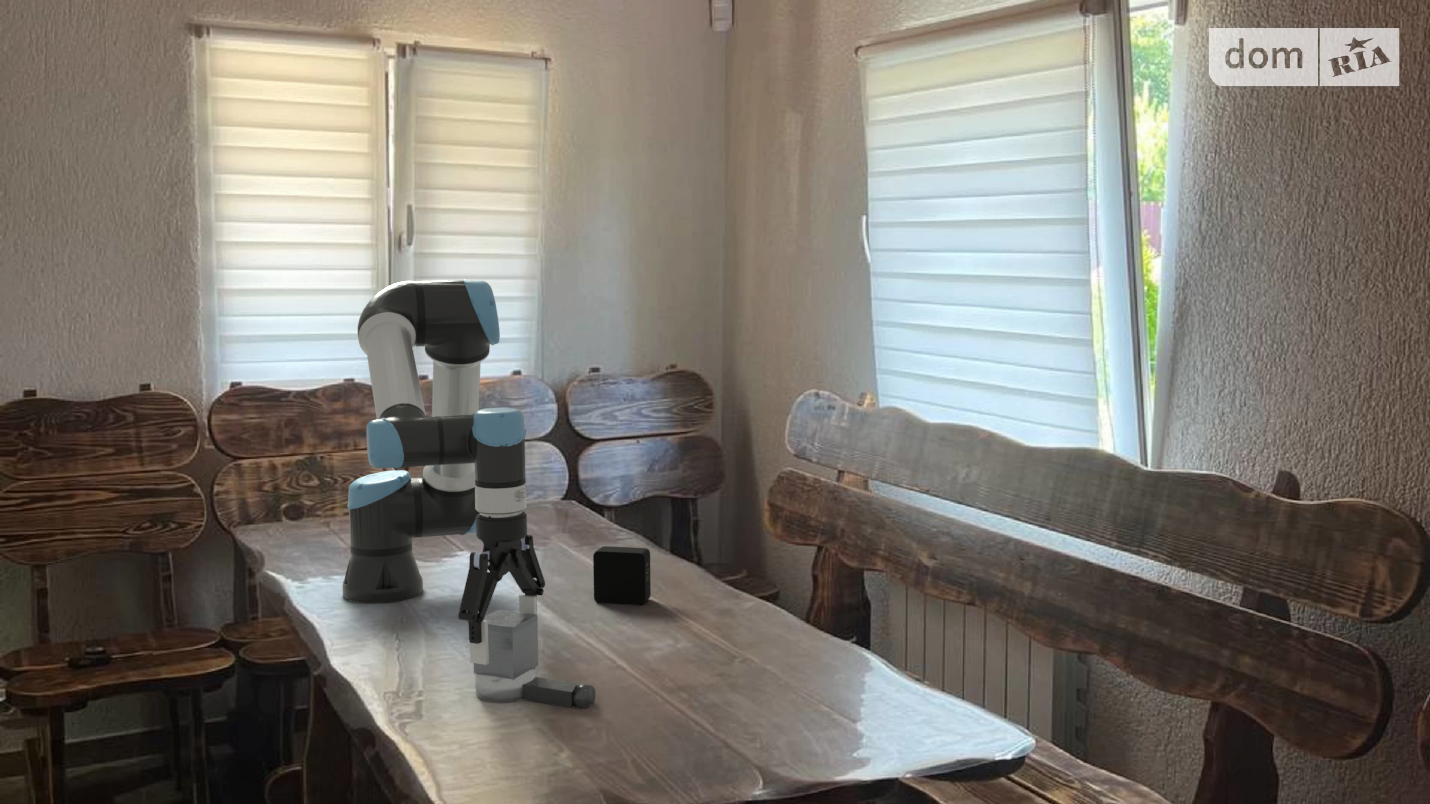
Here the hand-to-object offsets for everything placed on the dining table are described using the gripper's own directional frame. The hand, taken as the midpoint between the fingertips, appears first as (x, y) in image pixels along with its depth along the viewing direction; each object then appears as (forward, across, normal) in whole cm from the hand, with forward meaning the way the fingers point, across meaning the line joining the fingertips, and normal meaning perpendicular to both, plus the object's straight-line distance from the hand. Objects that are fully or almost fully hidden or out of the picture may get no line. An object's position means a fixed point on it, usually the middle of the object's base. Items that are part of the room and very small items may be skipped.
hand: (504, 649), depth 198 cm
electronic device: (+7, +51, +7) cm, 52 cm away
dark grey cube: (+3, 0, 0) cm, 3 cm away
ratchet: (+7, 0, -5) cm, 9 cm away
